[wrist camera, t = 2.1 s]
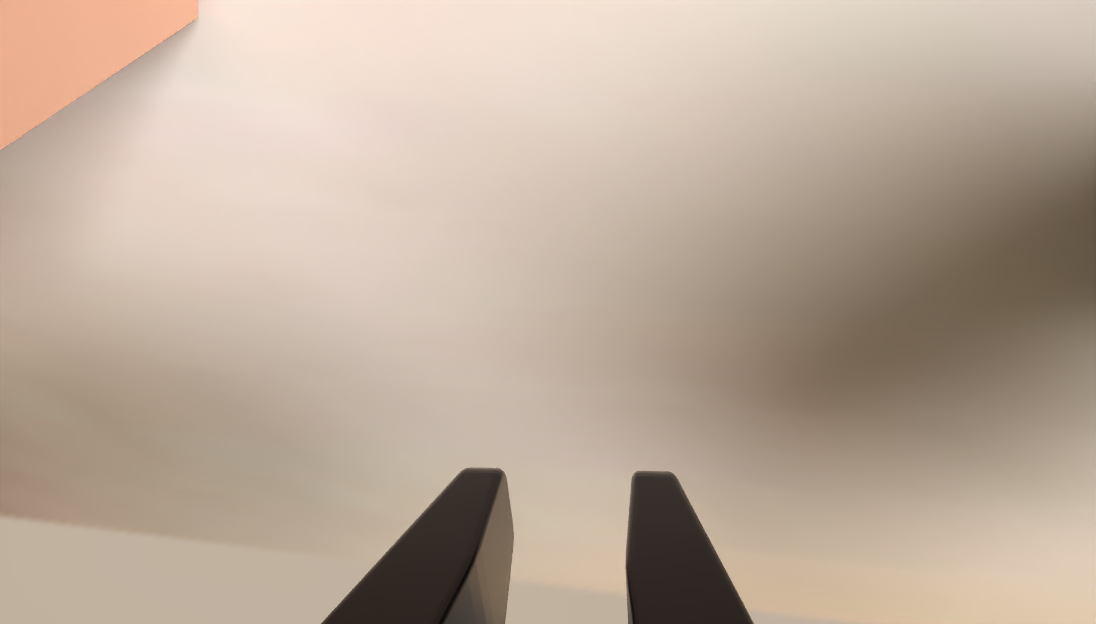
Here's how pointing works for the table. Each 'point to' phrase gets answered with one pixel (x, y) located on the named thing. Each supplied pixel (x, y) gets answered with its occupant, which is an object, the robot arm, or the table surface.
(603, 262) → the table surface
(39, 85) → the terracotta plug
